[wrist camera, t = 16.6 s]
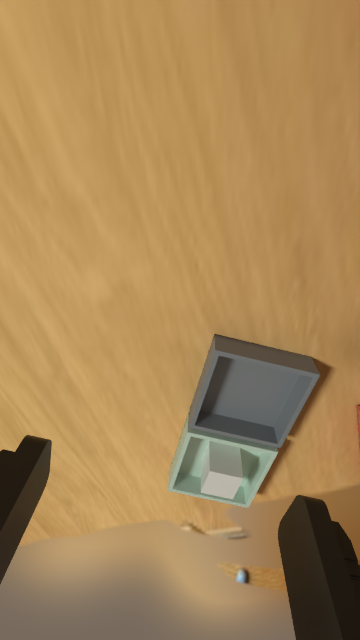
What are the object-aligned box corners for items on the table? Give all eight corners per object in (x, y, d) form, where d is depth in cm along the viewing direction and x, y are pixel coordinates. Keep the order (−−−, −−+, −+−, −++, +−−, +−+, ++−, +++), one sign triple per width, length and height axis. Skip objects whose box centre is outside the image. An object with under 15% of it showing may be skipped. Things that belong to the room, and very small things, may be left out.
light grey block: (239, 447, 48) (243, 478, 44) (230, 468, 50) (232, 499, 46) (209, 440, 48) (209, 471, 44) (201, 461, 50) (200, 492, 46)
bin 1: (311, 357, 41) (320, 374, 38) (275, 427, 47) (280, 448, 44) (214, 334, 41) (215, 350, 37) (190, 408, 46) (188, 427, 43)
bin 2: (273, 432, 47) (278, 452, 44) (245, 486, 53) (248, 507, 50) (188, 412, 47) (187, 432, 44) (169, 470, 52) (167, 490, 49)
